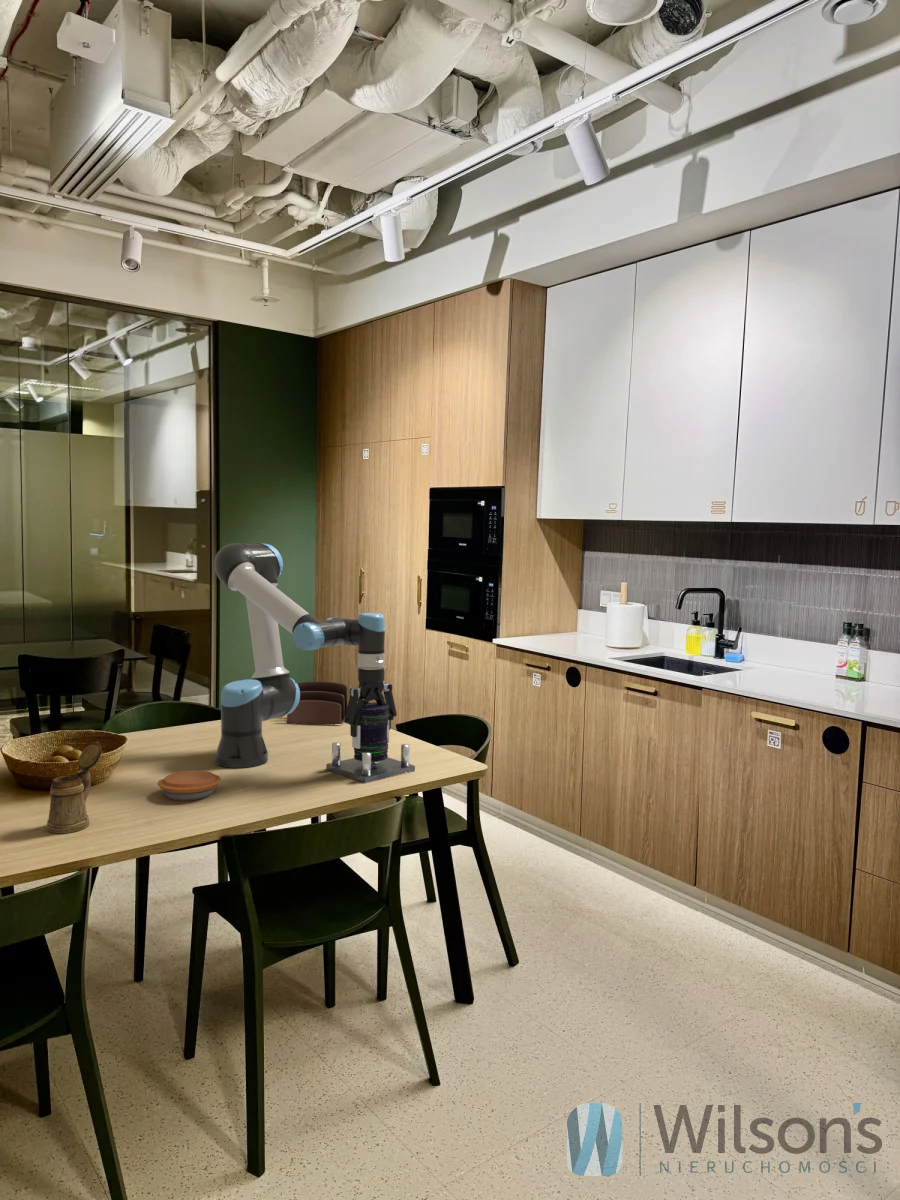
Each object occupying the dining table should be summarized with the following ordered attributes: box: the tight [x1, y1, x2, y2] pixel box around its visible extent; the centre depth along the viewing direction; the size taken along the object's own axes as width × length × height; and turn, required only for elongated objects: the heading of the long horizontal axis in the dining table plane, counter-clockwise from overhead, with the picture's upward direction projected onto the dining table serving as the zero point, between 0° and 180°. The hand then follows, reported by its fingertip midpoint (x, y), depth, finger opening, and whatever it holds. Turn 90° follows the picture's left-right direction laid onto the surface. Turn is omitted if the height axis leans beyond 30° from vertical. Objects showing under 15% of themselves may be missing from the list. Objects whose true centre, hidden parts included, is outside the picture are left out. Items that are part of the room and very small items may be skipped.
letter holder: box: [286, 680, 348, 725], centre depth 305 cm, size 10×20×14 cm, turn 83°
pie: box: [157, 770, 222, 802], centre depth 219 cm, size 15×16×5 cm
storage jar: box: [353, 702, 389, 762], centre depth 243 cm, size 10×10×15 cm
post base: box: [325, 742, 416, 784], centre depth 243 cm, size 18×18×8 cm
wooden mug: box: [45, 740, 103, 834], centre depth 195 cm, size 9×14×18 cm, turn 153°
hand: (370, 744), depth 243 cm, fingers closed on storage jar, 10 cm apart
